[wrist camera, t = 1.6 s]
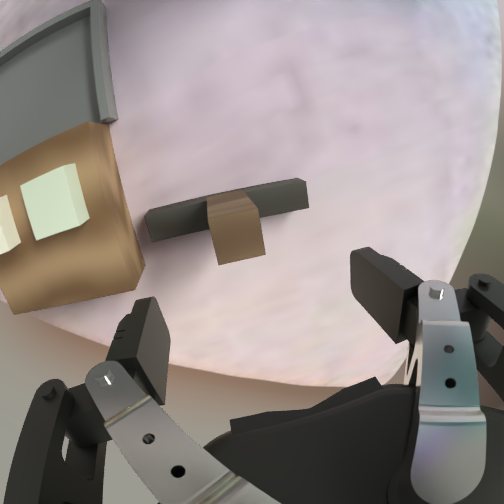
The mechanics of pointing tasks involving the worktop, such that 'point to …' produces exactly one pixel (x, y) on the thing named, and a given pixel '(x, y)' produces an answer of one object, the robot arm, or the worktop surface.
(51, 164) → the board
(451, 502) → the robot arm
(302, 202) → the scraper
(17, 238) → the tile
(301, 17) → the worktop surface
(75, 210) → the tile
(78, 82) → the bin
